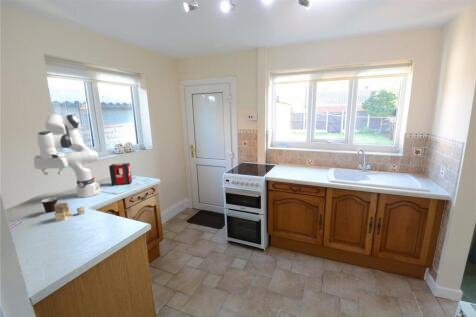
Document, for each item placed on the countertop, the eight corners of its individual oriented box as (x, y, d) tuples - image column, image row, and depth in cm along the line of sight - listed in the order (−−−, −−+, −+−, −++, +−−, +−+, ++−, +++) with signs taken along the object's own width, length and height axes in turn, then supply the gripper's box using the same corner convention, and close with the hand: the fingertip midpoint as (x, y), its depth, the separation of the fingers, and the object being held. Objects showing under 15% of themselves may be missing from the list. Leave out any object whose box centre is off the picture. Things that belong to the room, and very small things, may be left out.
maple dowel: (78, 212, 157) (77, 207, 156) (85, 211, 159) (84, 206, 158) (77, 215, 154) (76, 210, 153) (84, 214, 156) (83, 208, 155)
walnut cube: (60, 209, 151) (59, 203, 150) (68, 209, 151) (67, 202, 150) (55, 213, 146) (54, 206, 145) (63, 212, 147) (62, 205, 146)
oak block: (62, 216, 153) (60, 209, 152) (71, 215, 153) (69, 209, 152) (55, 220, 147) (54, 213, 146) (65, 219, 147) (63, 213, 146)
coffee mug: (50, 215, 157) (48, 202, 155) (41, 214, 159) (38, 201, 157) (66, 208, 168) (63, 196, 166) (57, 207, 170) (54, 195, 168)
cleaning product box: (132, 181, 231) (129, 163, 226) (129, 184, 222) (127, 165, 218) (114, 183, 227) (112, 164, 223) (111, 185, 219) (108, 166, 215)
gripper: (29, 156, 148) (33, 176, 151) (61, 155, 150) (65, 175, 153) (37, 154, 155) (41, 173, 157) (67, 153, 156) (71, 172, 159)
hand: (53, 174), depth 155 cm, fingers open, 8 cm apart
